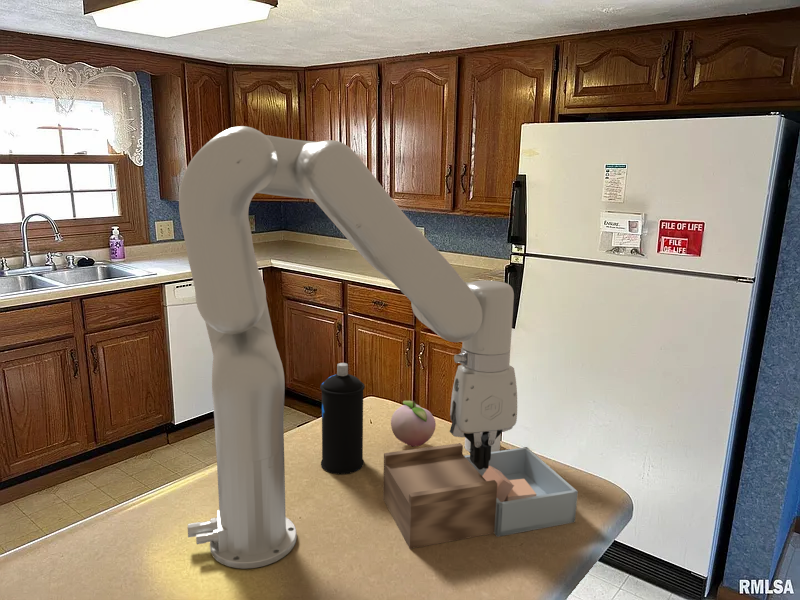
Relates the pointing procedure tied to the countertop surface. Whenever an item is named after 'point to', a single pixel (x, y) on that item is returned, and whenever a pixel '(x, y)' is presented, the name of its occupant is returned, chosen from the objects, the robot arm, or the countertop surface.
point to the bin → (534, 512)
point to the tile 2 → (520, 490)
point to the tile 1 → (499, 482)
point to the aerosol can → (342, 422)
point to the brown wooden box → (437, 495)
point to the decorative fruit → (412, 424)
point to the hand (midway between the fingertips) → (479, 465)
